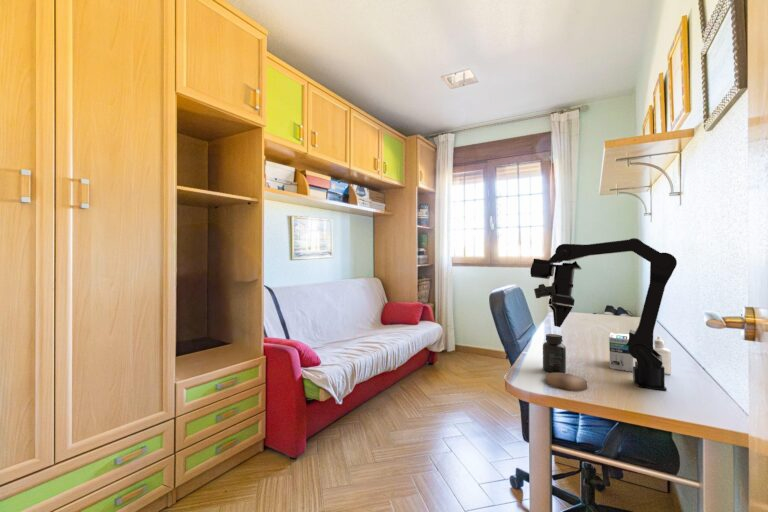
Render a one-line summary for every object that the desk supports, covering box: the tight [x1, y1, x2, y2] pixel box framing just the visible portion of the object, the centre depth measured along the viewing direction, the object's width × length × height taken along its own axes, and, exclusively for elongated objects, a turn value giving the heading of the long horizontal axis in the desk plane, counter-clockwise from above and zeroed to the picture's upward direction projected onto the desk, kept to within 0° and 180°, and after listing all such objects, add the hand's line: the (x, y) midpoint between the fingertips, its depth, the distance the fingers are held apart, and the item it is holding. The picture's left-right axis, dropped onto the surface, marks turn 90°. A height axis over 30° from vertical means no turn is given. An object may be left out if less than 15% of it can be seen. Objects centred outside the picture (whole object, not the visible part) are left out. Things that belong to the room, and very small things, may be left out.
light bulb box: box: [608, 331, 635, 373], centre depth 114 cm, size 11×7×11 cm, turn 143°
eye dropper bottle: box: [653, 335, 672, 376], centre depth 108 cm, size 4×6×12 cm
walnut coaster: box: [544, 373, 588, 392], centre depth 97 cm, size 11×11×2 cm
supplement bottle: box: [542, 333, 567, 374], centre depth 109 cm, size 7×7×12 cm
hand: (557, 326), depth 109 cm, fingers open, 9 cm apart
